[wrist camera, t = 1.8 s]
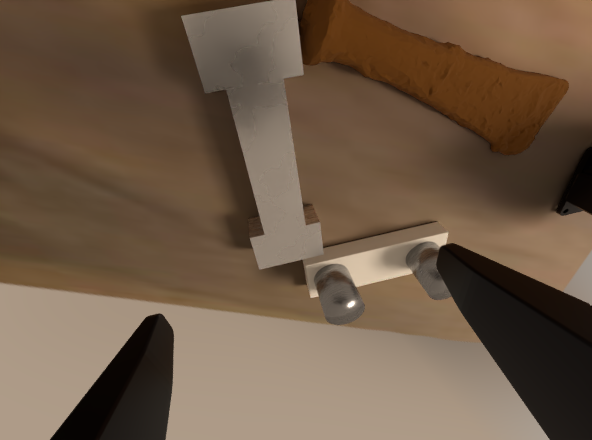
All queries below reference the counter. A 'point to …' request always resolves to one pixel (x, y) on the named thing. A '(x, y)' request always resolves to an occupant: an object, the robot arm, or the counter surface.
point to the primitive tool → (433, 73)
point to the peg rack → (374, 268)
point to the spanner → (261, 116)
